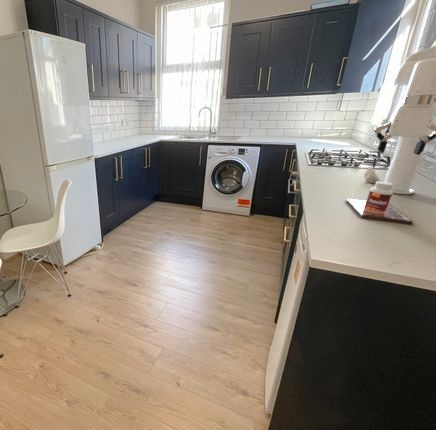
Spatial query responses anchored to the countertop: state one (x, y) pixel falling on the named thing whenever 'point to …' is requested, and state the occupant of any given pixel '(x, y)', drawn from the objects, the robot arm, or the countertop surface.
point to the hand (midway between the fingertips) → (398, 153)
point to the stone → (371, 176)
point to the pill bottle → (379, 197)
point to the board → (389, 215)
